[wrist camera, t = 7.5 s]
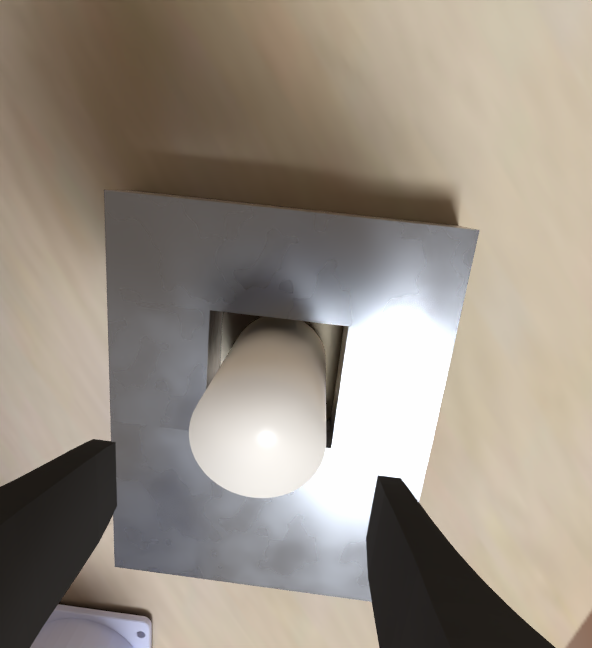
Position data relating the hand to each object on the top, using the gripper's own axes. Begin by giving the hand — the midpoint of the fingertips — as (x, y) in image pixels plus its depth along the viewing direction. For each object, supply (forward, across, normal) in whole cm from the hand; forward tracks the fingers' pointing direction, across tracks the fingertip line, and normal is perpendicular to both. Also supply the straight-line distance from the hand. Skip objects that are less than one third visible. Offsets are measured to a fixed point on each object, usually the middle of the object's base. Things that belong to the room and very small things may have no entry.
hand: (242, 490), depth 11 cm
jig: (+9, 0, +2) cm, 10 cm away
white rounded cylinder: (+9, 0, 0) cm, 9 cm away
